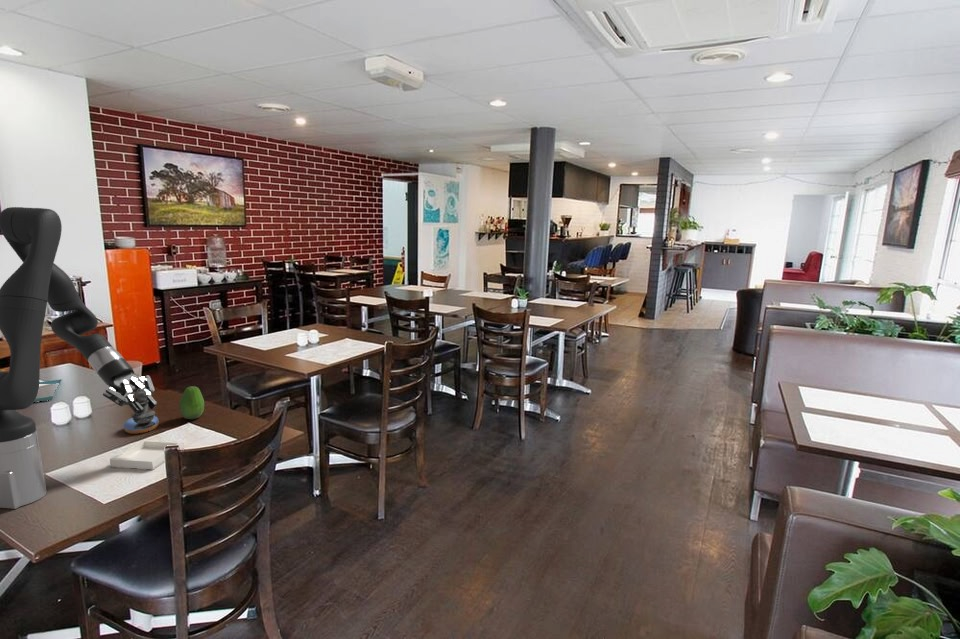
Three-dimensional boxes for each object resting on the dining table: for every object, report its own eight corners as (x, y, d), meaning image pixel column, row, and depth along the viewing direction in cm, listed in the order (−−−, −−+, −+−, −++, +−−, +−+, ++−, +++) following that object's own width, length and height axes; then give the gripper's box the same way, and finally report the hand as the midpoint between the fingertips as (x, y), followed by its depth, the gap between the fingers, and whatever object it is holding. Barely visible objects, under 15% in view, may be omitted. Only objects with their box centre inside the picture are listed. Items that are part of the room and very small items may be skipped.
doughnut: (133, 437, 161) (133, 423, 161) (117, 432, 166) (117, 418, 166) (165, 429, 170) (164, 416, 170) (149, 424, 175) (148, 412, 174)
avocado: (209, 417, 179) (206, 385, 176) (186, 424, 172) (183, 391, 170) (199, 412, 183) (196, 381, 181) (176, 418, 177) (172, 386, 175)
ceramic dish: (153, 469, 141) (152, 461, 140) (110, 467, 142) (109, 459, 142) (184, 449, 154) (183, 442, 153) (144, 447, 155) (144, 439, 154)
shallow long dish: (35, 387, 209) (34, 381, 209) (63, 383, 214) (62, 378, 214) (22, 406, 188) (21, 400, 187) (54, 401, 193) (53, 395, 192)
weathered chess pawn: (144, 430, 143) (139, 391, 140) (127, 428, 144) (122, 389, 141) (161, 422, 148) (156, 384, 146) (144, 420, 149) (139, 382, 147)
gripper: (91, 364, 137) (131, 411, 136) (138, 351, 151) (175, 394, 150) (80, 380, 140) (119, 426, 139) (127, 366, 153) (163, 408, 152)
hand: (148, 409), depth 144 cm, fingers closed on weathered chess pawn, 3 cm apart
